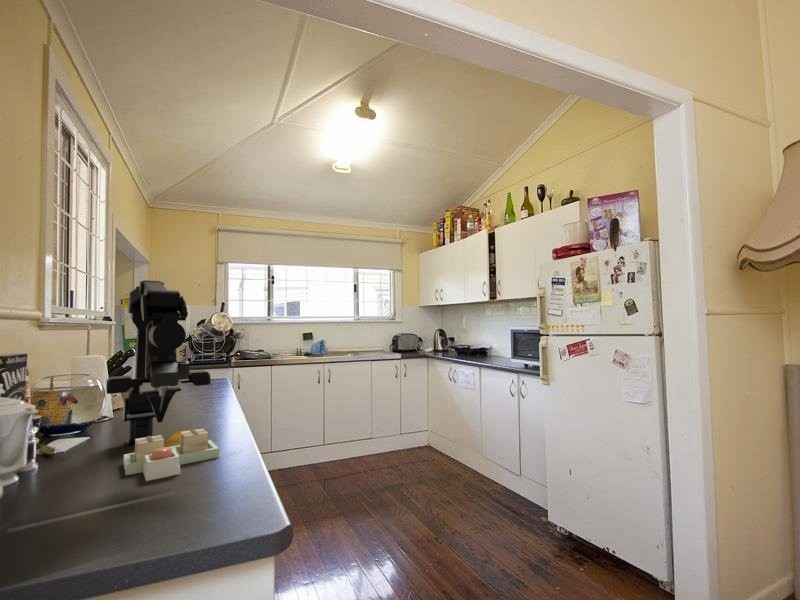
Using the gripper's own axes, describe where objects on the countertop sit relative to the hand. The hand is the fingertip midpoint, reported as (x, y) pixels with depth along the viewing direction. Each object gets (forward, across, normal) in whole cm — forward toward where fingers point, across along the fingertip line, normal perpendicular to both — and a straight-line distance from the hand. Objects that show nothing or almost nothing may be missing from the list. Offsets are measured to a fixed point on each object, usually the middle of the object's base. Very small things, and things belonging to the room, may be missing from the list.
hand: (159, 422), depth 86 cm
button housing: (+11, 0, -2) cm, 11 cm away
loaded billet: (+10, -1, +6) cm, 12 cm away
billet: (+10, +8, +6) cm, 14 cm away
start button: (+7, 0, -2) cm, 8 cm away
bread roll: (+11, +8, +19) cm, 23 cm away
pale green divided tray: (+11, +3, +6) cm, 13 cm away
